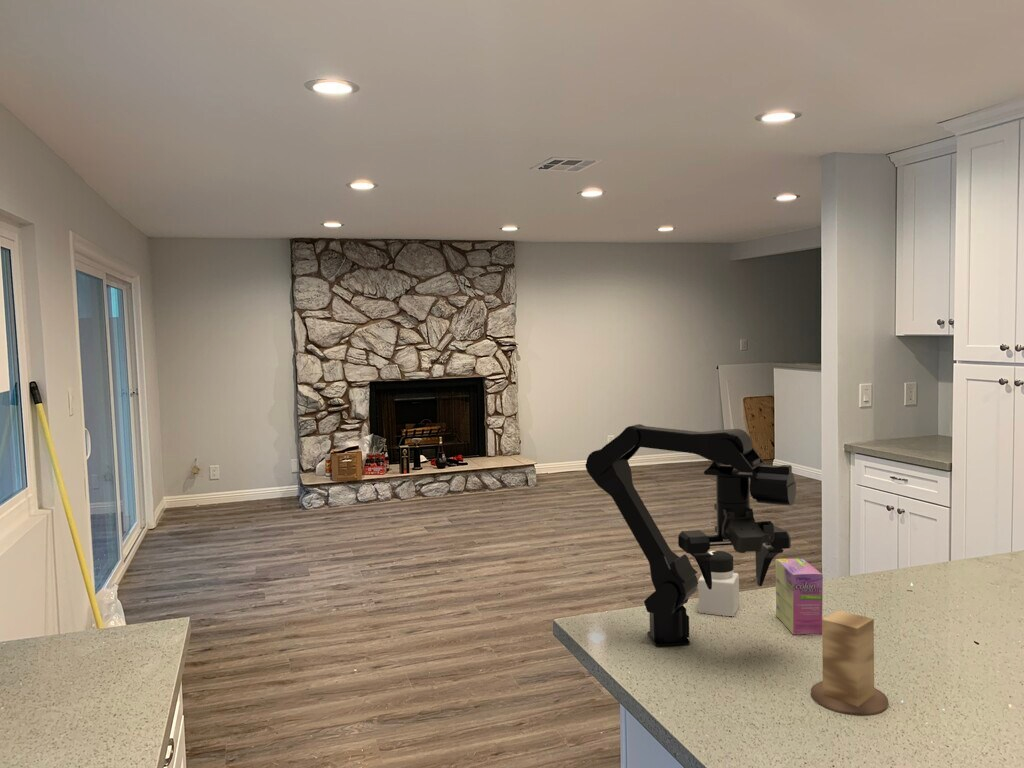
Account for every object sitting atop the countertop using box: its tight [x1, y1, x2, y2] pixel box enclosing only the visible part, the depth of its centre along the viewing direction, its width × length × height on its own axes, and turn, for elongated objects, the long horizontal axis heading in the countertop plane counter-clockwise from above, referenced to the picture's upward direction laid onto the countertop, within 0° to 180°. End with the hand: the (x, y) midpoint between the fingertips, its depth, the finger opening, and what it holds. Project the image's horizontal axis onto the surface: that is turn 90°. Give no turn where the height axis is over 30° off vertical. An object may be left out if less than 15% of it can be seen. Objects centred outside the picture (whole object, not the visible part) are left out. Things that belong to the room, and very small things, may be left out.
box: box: [774, 557, 824, 636], centre depth 150 cm, size 10×6×12 cm, turn 179°
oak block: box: [821, 610, 875, 707], centre depth 119 cm, size 6×6×12 cm
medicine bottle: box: [697, 550, 740, 618], centre depth 160 cm, size 7×7×12 cm
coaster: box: [810, 680, 889, 716], centre depth 119 cm, size 11×11×1 cm
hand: (734, 587), depth 137 cm, fingers open, 9 cm apart
